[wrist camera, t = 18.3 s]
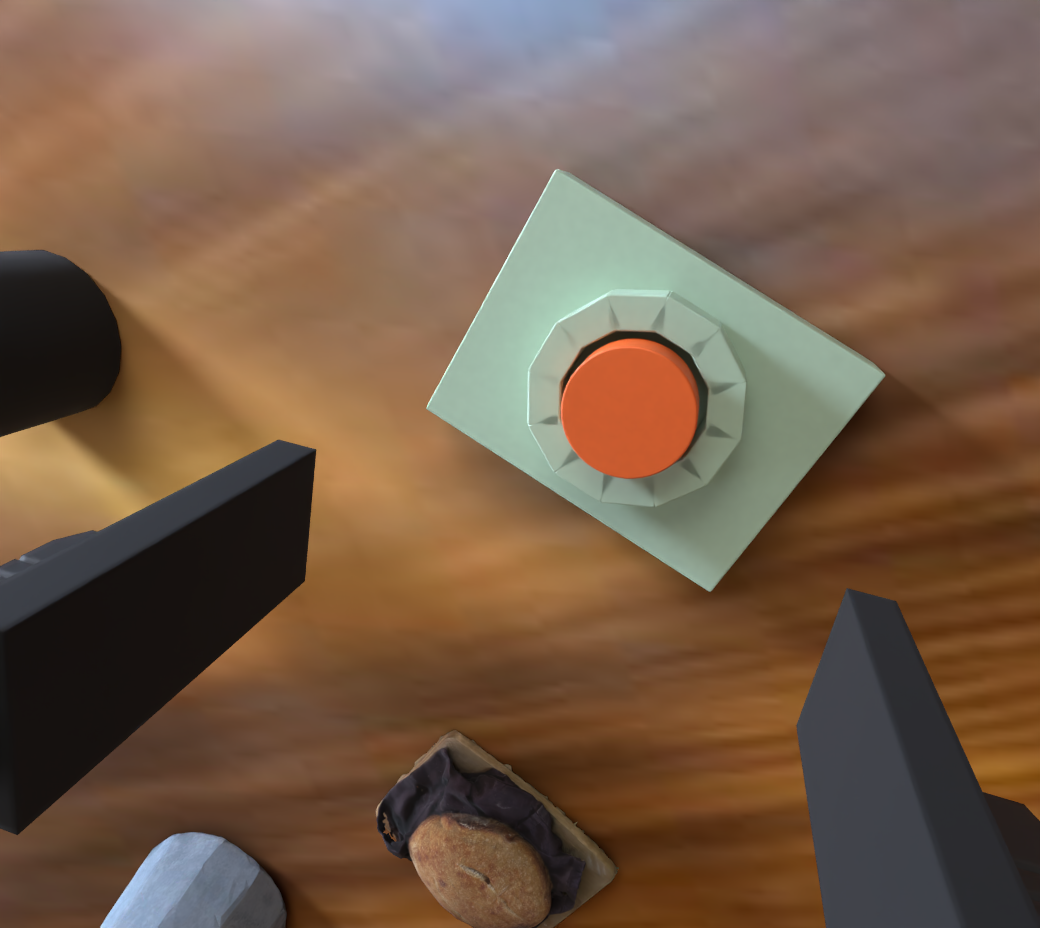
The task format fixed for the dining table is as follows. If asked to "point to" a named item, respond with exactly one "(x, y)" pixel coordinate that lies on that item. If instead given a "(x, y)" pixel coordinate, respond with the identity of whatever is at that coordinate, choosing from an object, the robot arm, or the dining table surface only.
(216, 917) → the moka pot
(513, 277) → the button box
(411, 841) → the bread roll
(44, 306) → the wine bottle
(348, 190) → the dining table surface
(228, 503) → the robot arm
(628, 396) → the button
